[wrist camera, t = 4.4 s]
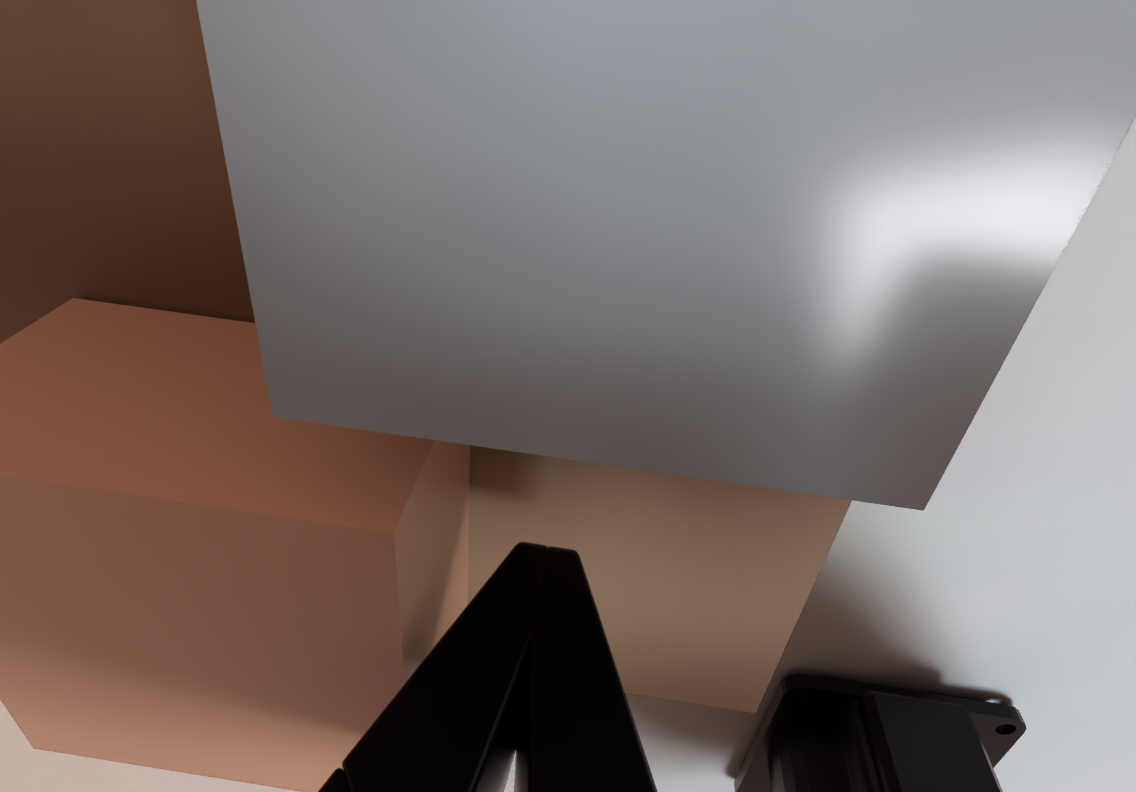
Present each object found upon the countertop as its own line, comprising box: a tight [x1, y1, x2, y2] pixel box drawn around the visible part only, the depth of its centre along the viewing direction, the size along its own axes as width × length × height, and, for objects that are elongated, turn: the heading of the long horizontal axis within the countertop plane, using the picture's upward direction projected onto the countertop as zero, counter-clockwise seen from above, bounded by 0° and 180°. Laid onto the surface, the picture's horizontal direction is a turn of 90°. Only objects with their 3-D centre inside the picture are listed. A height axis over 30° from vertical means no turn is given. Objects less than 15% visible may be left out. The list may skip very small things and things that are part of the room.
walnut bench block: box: [0, 0, 852, 713], centre depth 10 cm, size 13×12×5 cm
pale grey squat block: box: [196, 0, 1136, 510], centre depth 5 cm, size 5×5×3 cm
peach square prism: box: [0, 298, 470, 792], centre depth 9 cm, size 5×5×3 cm
